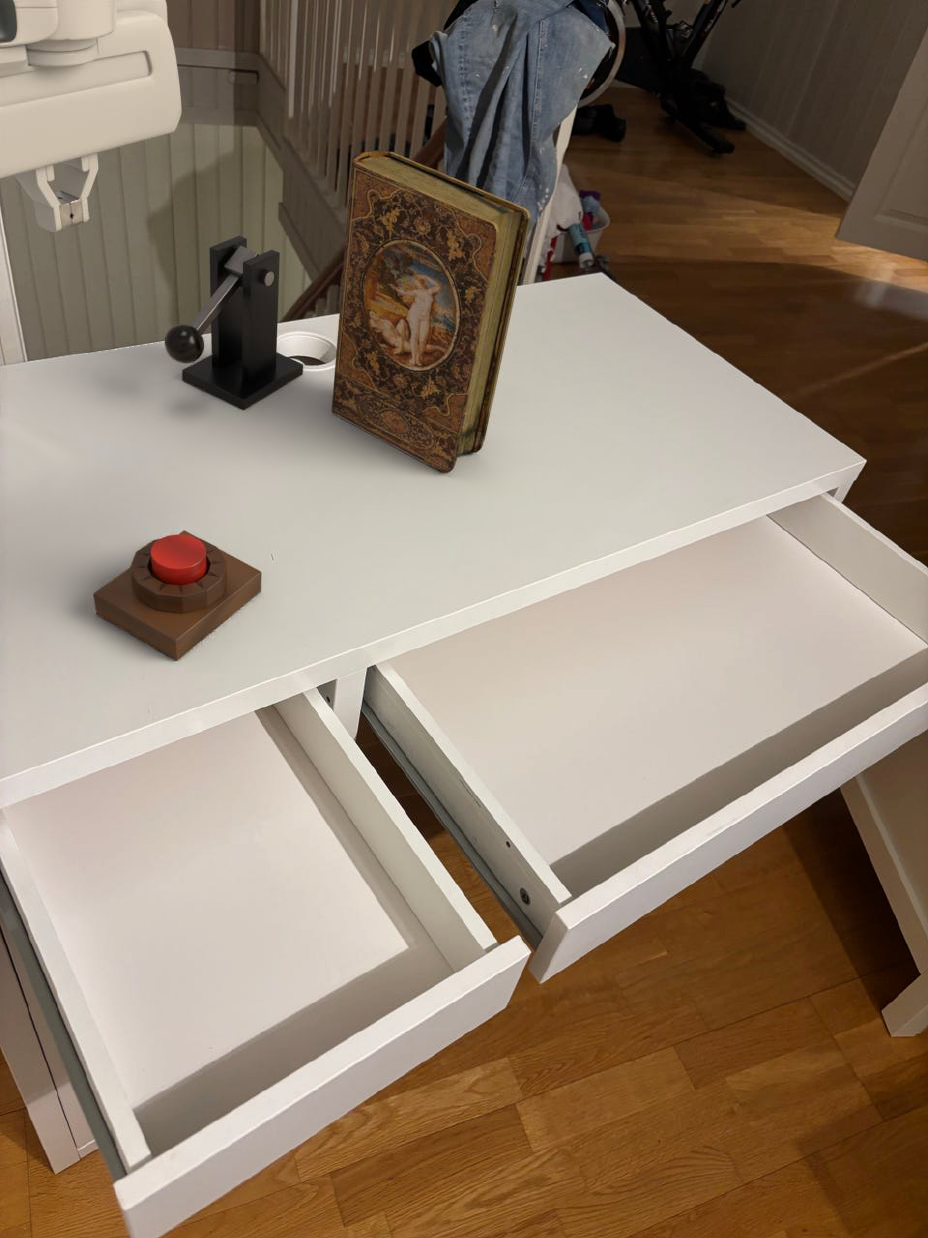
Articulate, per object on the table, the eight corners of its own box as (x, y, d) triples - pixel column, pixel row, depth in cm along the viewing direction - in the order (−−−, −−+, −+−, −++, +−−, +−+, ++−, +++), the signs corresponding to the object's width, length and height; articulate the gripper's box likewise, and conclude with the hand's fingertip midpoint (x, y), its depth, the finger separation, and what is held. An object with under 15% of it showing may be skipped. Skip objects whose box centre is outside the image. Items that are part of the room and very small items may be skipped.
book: (323, 408, 98) (341, 157, 81) (356, 390, 102) (380, 146, 85) (451, 478, 93) (499, 226, 76) (481, 456, 97) (534, 211, 80)
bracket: (243, 410, 96) (244, 280, 86) (182, 380, 98) (176, 249, 88) (303, 373, 102) (309, 249, 93) (244, 346, 104) (245, 222, 95)
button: (181, 593, 71) (180, 575, 69) (140, 570, 72) (139, 552, 70) (217, 566, 73) (216, 549, 72) (177, 544, 74) (176, 527, 73)
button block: (176, 661, 70) (174, 623, 68) (95, 614, 72) (90, 575, 70) (261, 591, 77) (262, 554, 75) (185, 549, 79) (183, 512, 77)
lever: (195, 376, 90) (181, 352, 86) (165, 362, 91) (150, 338, 87) (272, 277, 93) (262, 250, 90) (243, 264, 94) (232, 237, 91)
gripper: (125, -42, 62) (140, 175, 71) (-171, -17, 48) (-104, 249, 57) (200, -16, 60) (205, 203, 70) (-84, 18, 46) (-30, 286, 56)
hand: (63, 224), depth 63 cm, fingers closed
